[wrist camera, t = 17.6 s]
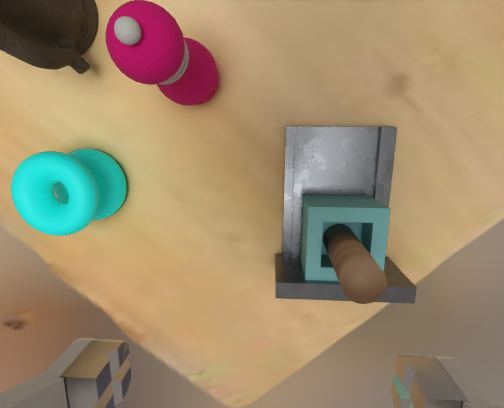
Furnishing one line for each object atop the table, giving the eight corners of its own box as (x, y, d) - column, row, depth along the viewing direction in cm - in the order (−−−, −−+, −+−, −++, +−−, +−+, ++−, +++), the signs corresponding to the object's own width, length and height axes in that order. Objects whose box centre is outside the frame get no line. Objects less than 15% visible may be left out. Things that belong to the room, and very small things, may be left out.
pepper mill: (198, 37, 39) (123, -62, 19) (233, 84, 40) (196, 34, 20) (157, 74, 40) (48, 18, 21) (192, 119, 41) (120, 105, 22)
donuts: (58, 255, 36) (-12, 199, 35) (104, 230, 46) (50, 185, 45) (106, 194, 34) (33, 132, 33) (143, 181, 44) (88, 133, 43)
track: (278, 126, 41) (279, 124, 32) (401, 127, 40) (438, 124, 31) (275, 266, 45) (275, 298, 36) (386, 269, 44) (414, 303, 35)
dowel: (323, 223, 39) (343, 262, 27) (355, 224, 39) (389, 264, 27) (321, 253, 40) (340, 302, 28) (353, 253, 40) (385, 304, 28)
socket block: (302, 195, 41) (308, 206, 35) (370, 196, 41) (390, 208, 34) (300, 257, 43) (305, 280, 36) (364, 259, 43) (382, 282, 36)
